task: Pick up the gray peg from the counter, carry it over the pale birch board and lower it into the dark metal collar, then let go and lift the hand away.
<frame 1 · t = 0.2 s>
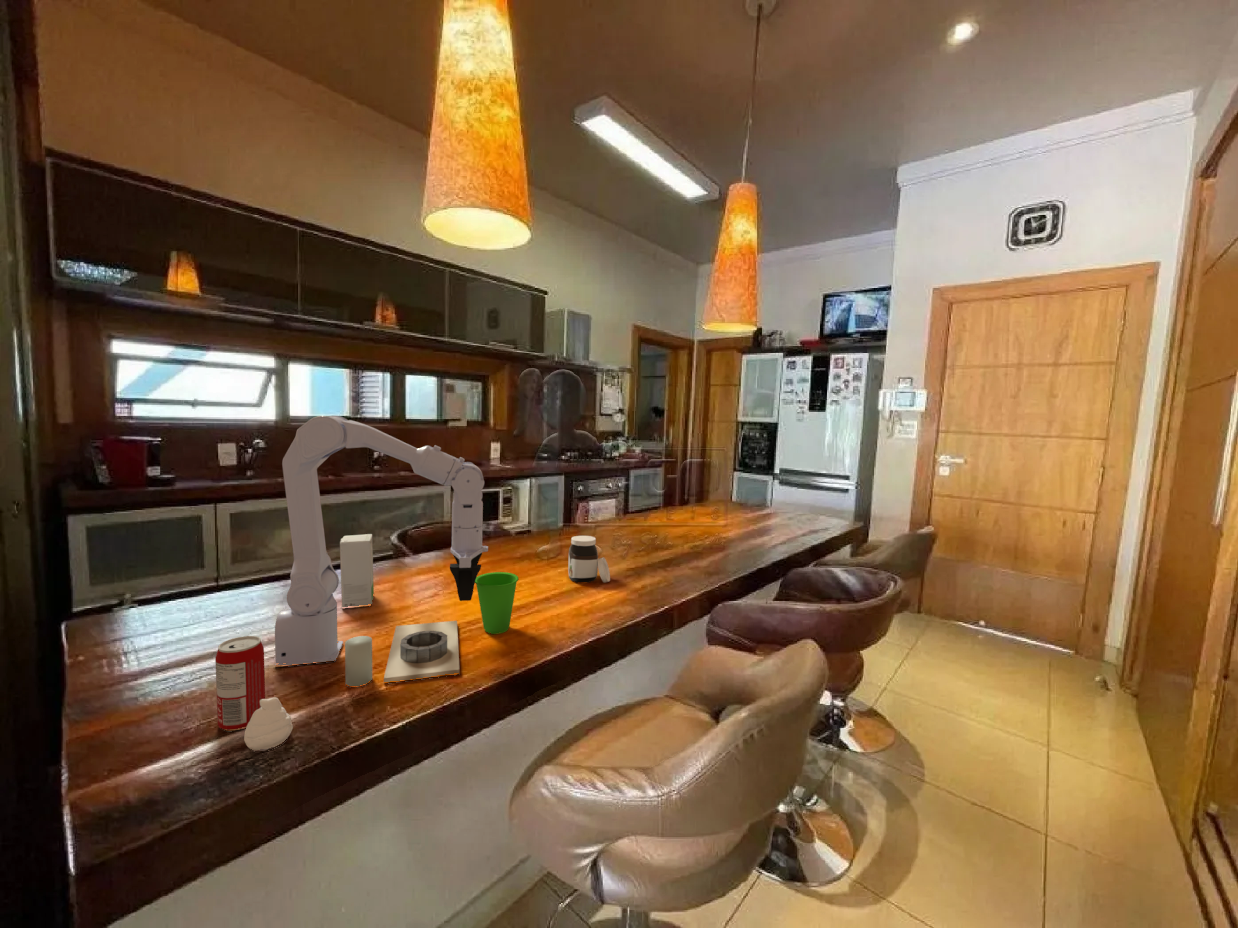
hand: (466, 593, 101), 10 cm above the counter, tool pointing down, fingers open, 7 cm apart
gray peg: (359, 681, 86), on the counter
cup: (496, 630, 109), on the counter
soda can: (242, 722, 74), on the counter
skincare box: (357, 603, 121), on the counter
peg holder: (424, 650, 97), on the counter
garlic bulb: (269, 742, 70), on the counter
spread jar: (589, 580, 144), on the counter
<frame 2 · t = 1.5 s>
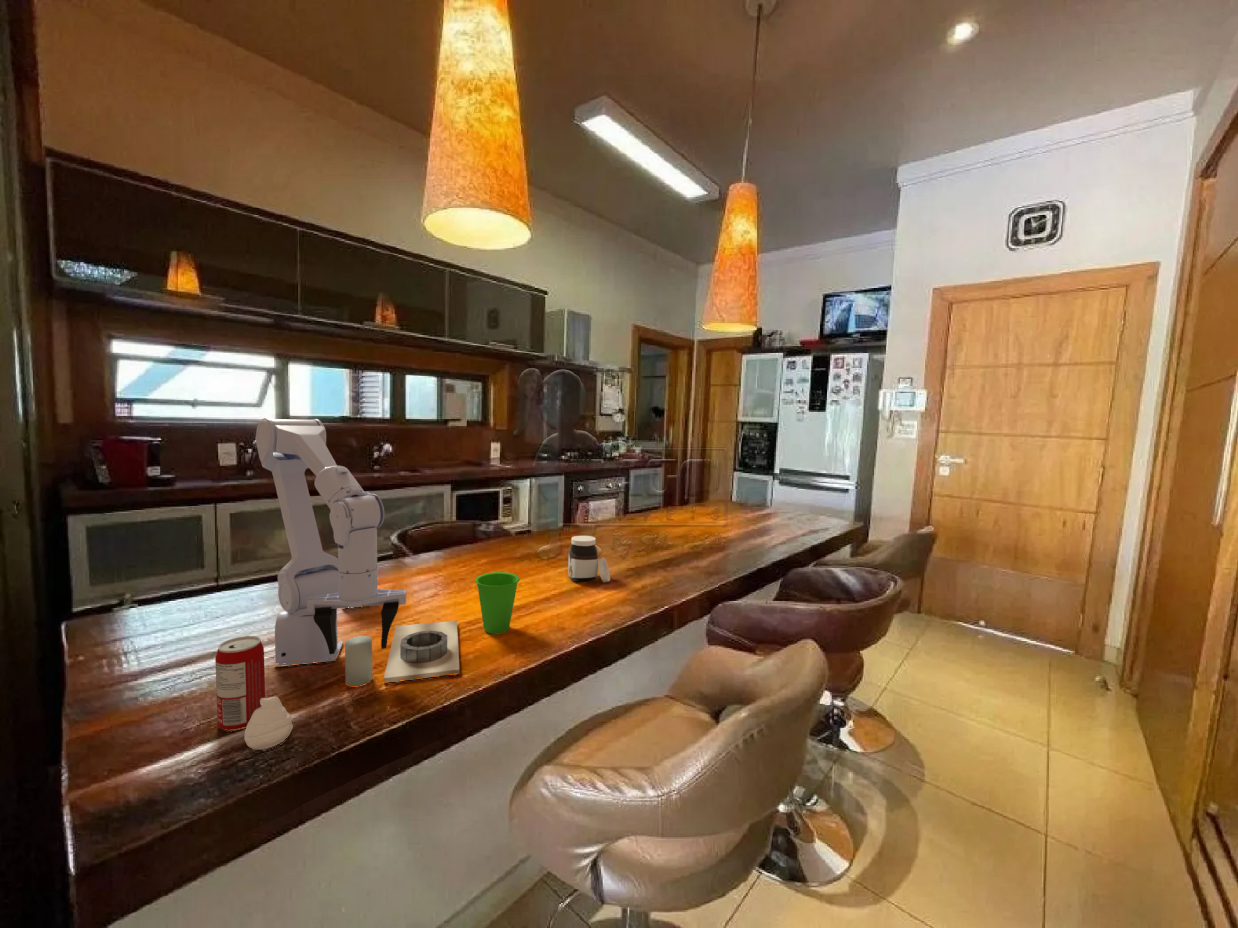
hand: (359, 648, 85), 6 cm above the counter, tool pointing down, fingers open, 7 cm apart
nothing on the counter moved.
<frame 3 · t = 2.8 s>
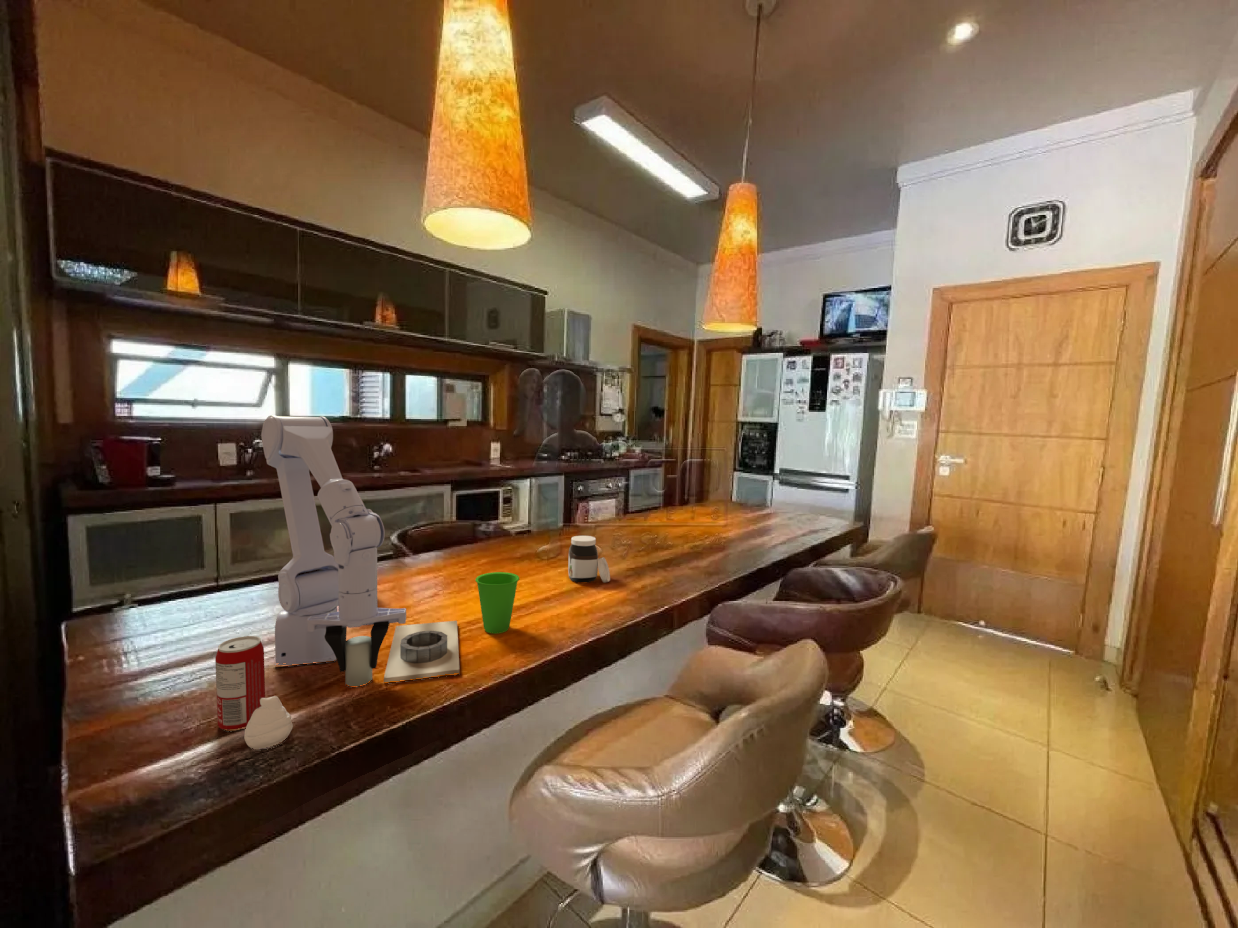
hand: (358, 667, 86), 2 cm above the counter, tool pointing down, fingers closed on gray peg, 4 cm apart
gray peg: (359, 681, 86), on the counter, touching gripper
everything else where it was.
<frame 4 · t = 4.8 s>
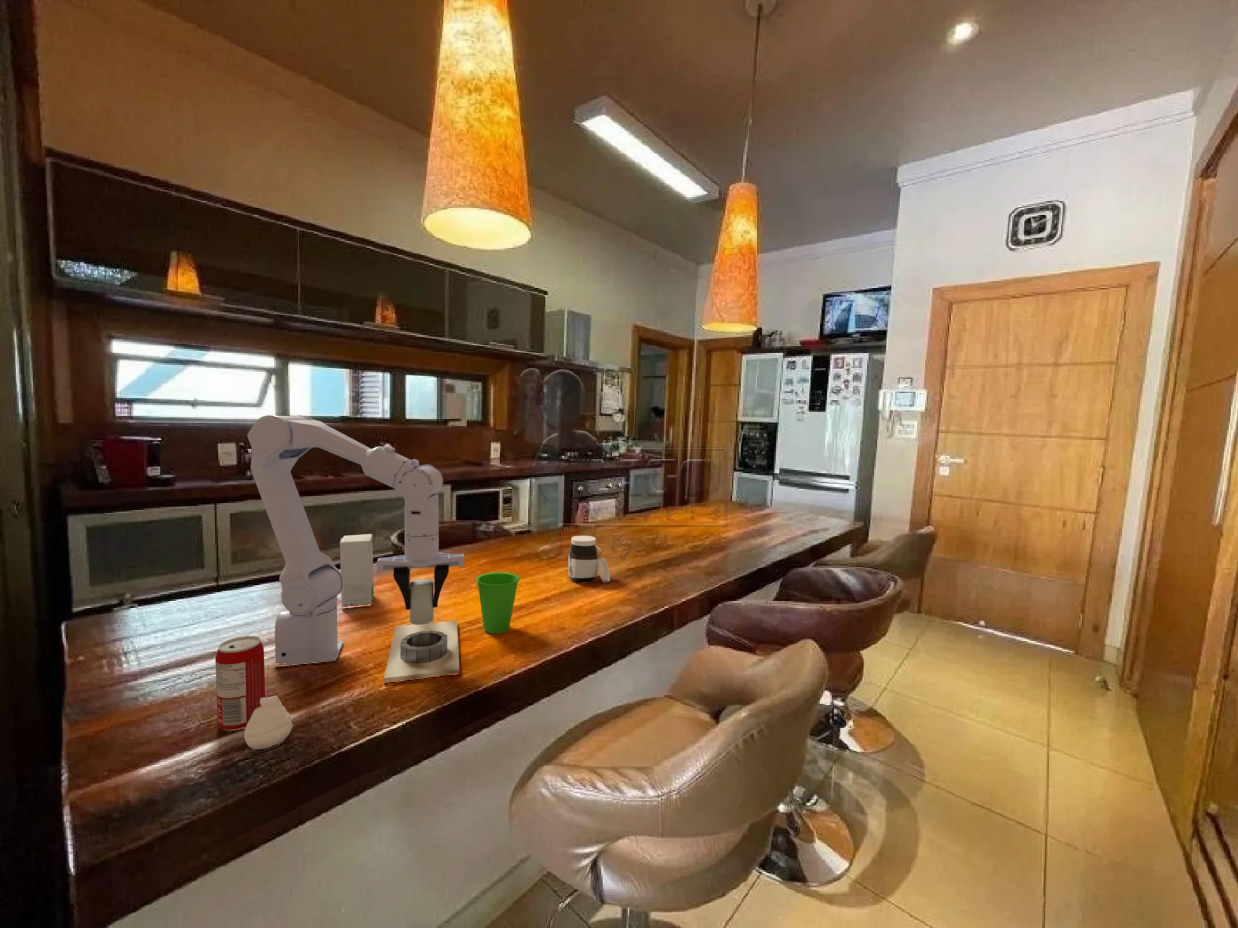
hand: (421, 606, 93), 10 cm above the counter, tool pointing down, fingers closed on gray peg, 4 cm apart
gray peg: (421, 620, 93), point 7 cm above the counter, touching gripper
everything else where it was.
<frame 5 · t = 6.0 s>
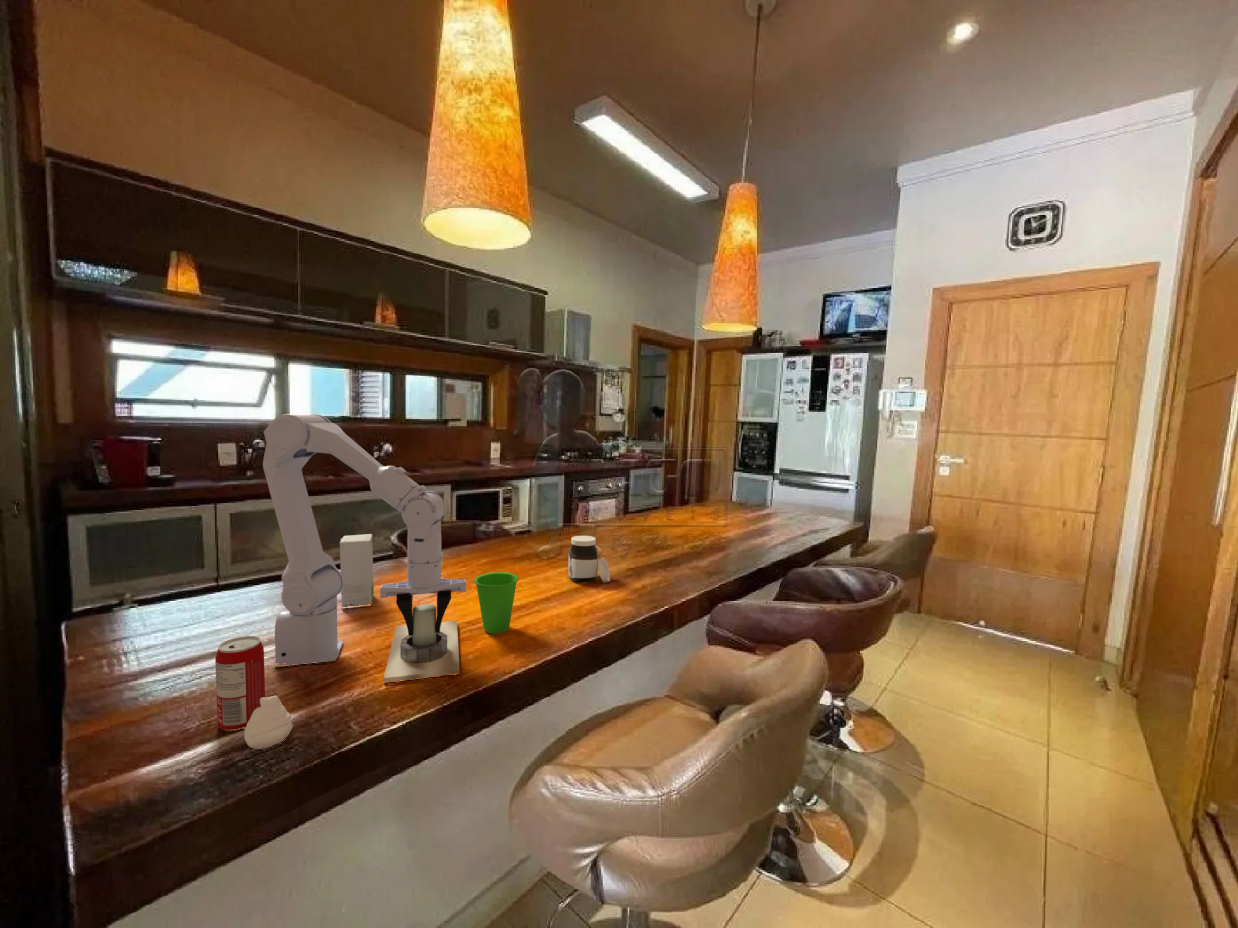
hand: (424, 632, 94), 5 cm above the counter, tool pointing down, fingers closed on gray peg, 4 cm apart
gray peg: (424, 645, 94), point 3 cm above the counter, touching gripper
everything else where it was.
when the fingers open (5 cm above the counter, at t = 6.9 s): gray peg drops 1 cm, resting on peg holder.
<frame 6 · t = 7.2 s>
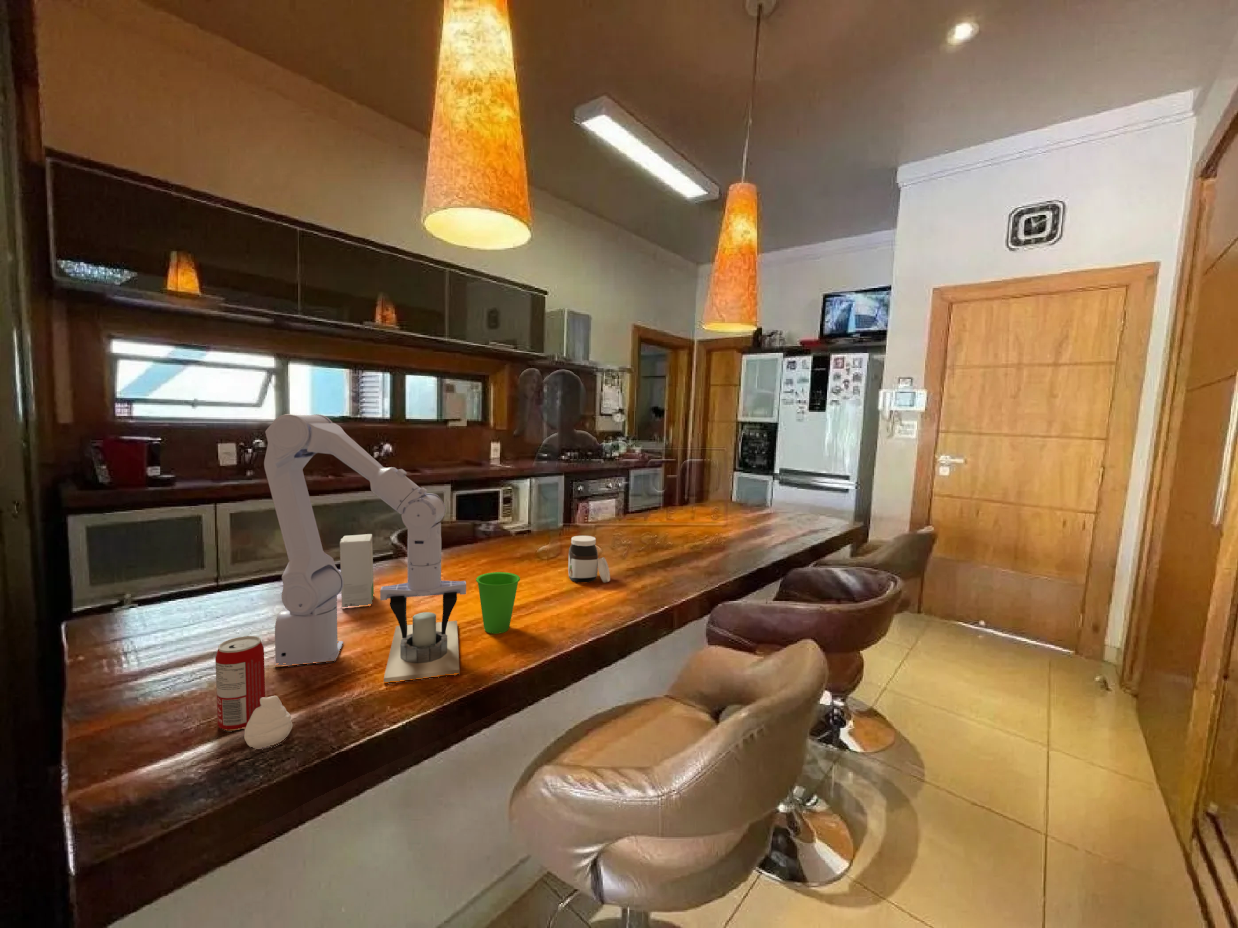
hand: (424, 634, 94), 5 cm above the counter, tool pointing down, fingers open, 6 cm apart
gray peg: (424, 653, 94), point 1 cm above the counter, touching peg holder
everything else where it was.
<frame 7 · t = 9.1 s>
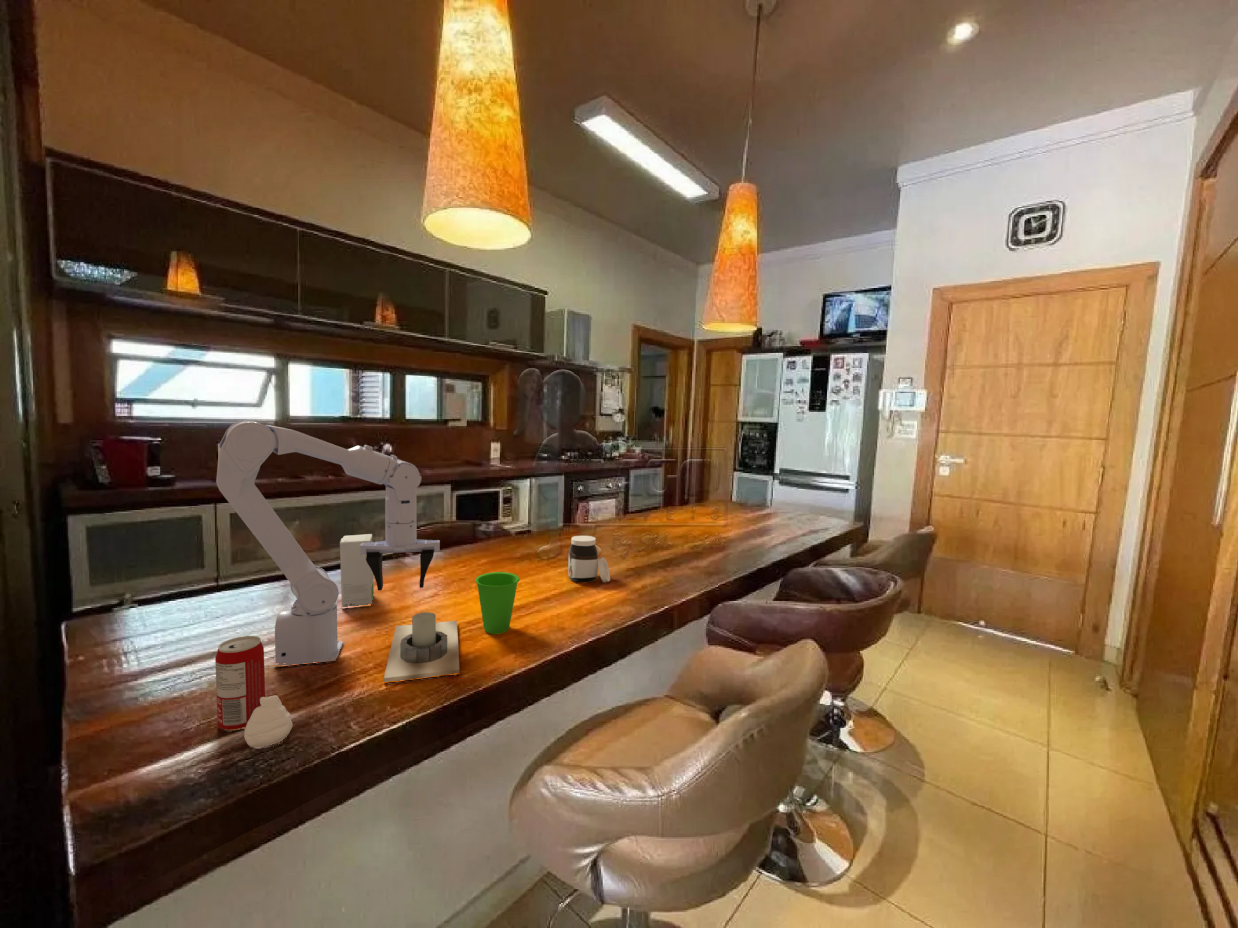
hand: (401, 587, 103), 10 cm above the counter, tool pointing down, fingers open, 7 cm apart
nothing on the counter moved.
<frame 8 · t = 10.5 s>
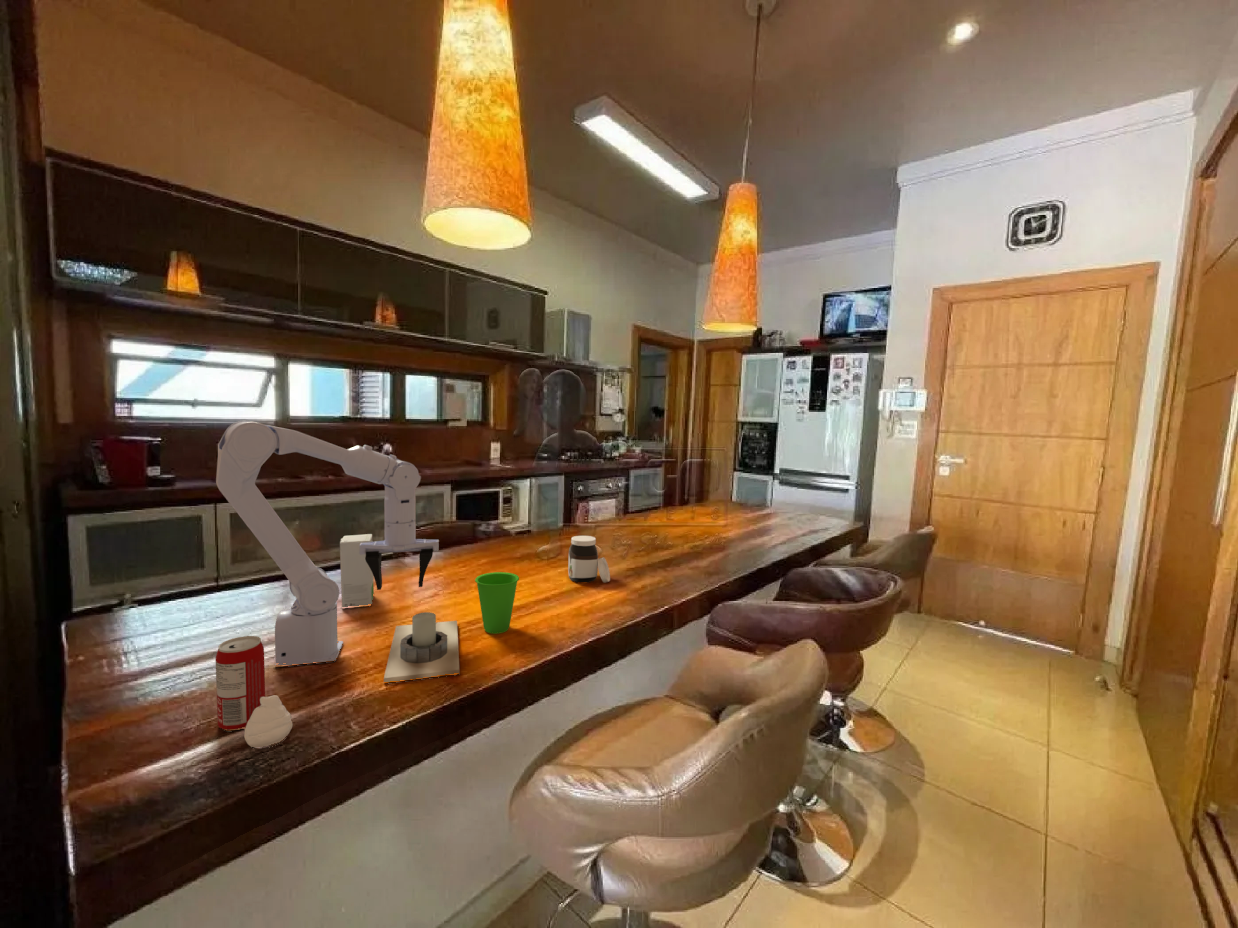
hand: (400, 586, 103), 10 cm above the counter, tool pointing down, fingers open, 7 cm apart
nothing on the counter moved.
at the end: gray peg 0.2 cm from the target spot on the peg holder, point 1.0 cm above the peg holder's base; gray peg tilted 1°; the gripper is holding nothing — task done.
